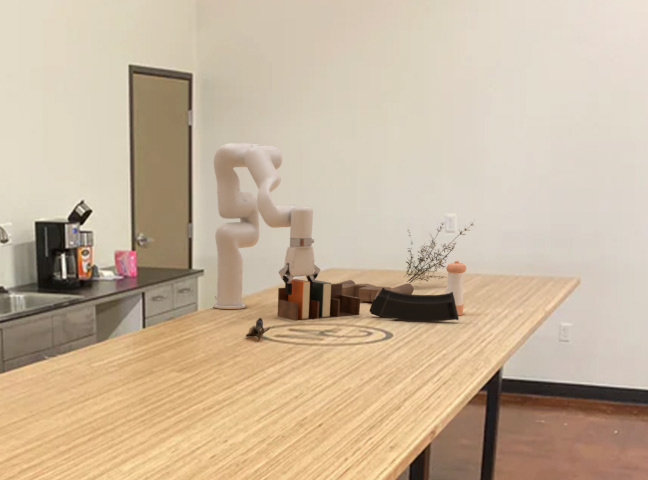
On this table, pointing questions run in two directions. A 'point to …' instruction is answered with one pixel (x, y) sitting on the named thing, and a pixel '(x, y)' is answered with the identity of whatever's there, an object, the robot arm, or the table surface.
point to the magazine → (414, 306)
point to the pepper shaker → (456, 283)
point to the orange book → (300, 297)
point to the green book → (322, 297)
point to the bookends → (370, 290)
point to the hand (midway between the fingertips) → (298, 293)
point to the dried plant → (430, 259)
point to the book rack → (338, 305)
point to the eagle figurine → (257, 330)
